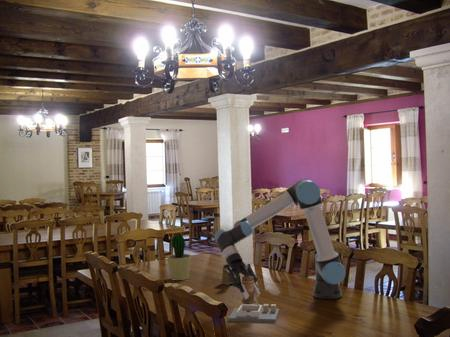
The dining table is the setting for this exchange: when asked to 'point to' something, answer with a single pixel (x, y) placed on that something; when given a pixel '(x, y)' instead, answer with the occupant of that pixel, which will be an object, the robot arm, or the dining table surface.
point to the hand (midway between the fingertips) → (253, 296)
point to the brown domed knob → (248, 289)
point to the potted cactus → (179, 259)
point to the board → (255, 313)
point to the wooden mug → (226, 276)
